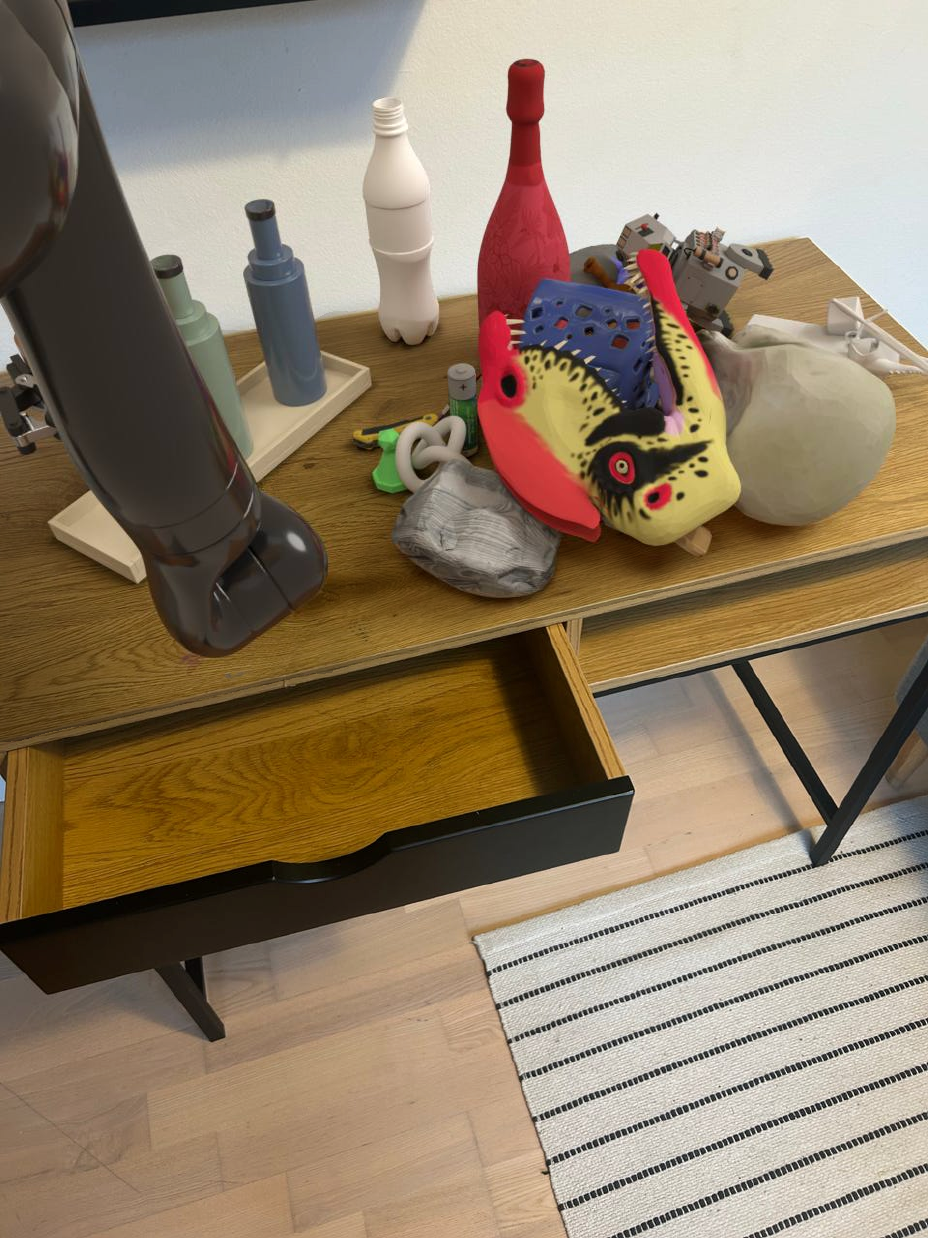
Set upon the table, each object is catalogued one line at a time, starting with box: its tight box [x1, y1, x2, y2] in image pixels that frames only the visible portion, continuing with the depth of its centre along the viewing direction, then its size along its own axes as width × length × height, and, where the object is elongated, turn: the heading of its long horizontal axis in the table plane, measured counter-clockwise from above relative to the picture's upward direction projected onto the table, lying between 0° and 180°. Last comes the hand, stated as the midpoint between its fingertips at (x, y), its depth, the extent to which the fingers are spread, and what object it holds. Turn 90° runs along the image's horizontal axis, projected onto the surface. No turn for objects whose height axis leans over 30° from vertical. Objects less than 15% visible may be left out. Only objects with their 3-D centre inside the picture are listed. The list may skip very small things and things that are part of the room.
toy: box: [477, 249, 741, 547], centre depth 73 cm, size 7×27×20 cm
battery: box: [447, 363, 479, 458], centre depth 84 cm, size 3×3×10 cm
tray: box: [47, 349, 373, 585], centre depth 88 cm, size 35×11×2 cm, turn 147°
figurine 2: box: [744, 296, 928, 381], centre depth 90 cm, size 12×8×25 cm
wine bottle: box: [476, 58, 570, 349], centre depth 87 cm, size 10×10×30 cm
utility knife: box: [352, 403, 478, 450], centre depth 90 cm, size 16×1×3 cm
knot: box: [395, 416, 474, 494], centre depth 82 cm, size 8×8×6 cm
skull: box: [649, 324, 897, 527], centre depth 76 cm, size 15×18×20 cm
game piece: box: [371, 428, 417, 494], centre depth 83 cm, size 4×4×6 cm
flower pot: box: [519, 279, 660, 411], centre depth 84 cm, size 13×13×12 cm
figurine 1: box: [615, 212, 775, 339], centre depth 96 cm, size 9×12×15 cm
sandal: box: [597, 507, 713, 558], centre depth 77 cm, size 7×16×5 cm
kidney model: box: [567, 243, 643, 323], centre depth 103 cm, size 15×7×18 cm
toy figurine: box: [583, 257, 638, 328], centre depth 97 cm, size 12×4×7 cm
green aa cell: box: [433, 371, 482, 426], centre depth 89 cm, size 8×1×5 cm
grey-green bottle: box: [150, 254, 254, 460], centre depth 81 cm, size 6×6×20 cm
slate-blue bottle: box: [242, 198, 327, 407], centre depth 87 cm, size 6×6×20 cm
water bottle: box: [362, 97, 440, 346], centre depth 93 cm, size 7×7×25 cm
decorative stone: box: [390, 459, 563, 599], centre depth 76 cm, size 14×14×10 cm
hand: (58, 350), depth 70 cm, fingers closed on amber bottle, 6 cm apart
